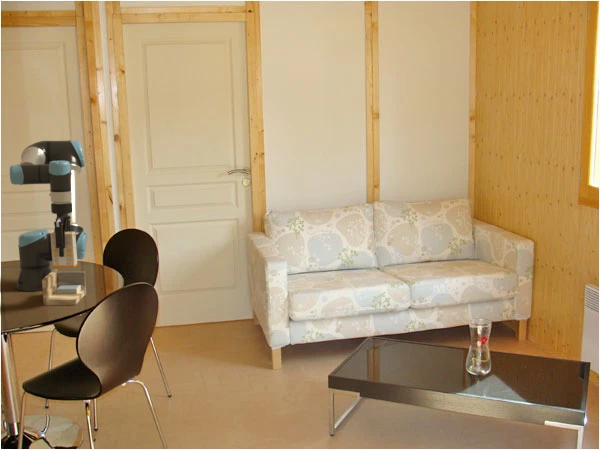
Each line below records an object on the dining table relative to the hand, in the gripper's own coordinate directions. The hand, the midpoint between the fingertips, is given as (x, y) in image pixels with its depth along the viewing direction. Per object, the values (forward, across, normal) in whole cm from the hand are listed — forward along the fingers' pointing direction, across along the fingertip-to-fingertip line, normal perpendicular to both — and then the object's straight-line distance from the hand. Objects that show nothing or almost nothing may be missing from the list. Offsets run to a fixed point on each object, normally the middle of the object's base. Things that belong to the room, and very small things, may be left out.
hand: (64, 263), depth 265 cm
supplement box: (+1, 0, 0) cm, 1 cm away
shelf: (+16, -5, -2) cm, 17 cm away
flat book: (+14, -9, -1) cm, 16 cm away
